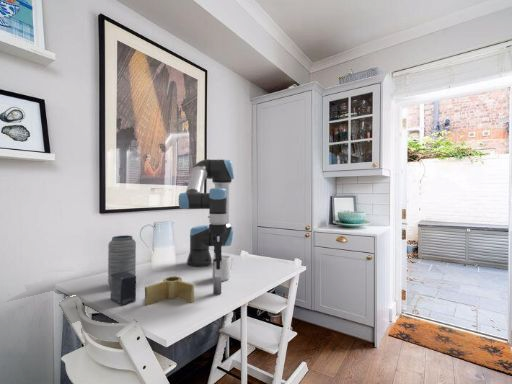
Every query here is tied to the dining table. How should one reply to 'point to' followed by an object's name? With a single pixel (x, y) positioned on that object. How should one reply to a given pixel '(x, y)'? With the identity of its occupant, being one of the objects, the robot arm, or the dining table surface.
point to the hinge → (169, 290)
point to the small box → (123, 288)
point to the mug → (226, 267)
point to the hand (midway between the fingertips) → (217, 272)
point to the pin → (216, 282)
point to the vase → (121, 255)
